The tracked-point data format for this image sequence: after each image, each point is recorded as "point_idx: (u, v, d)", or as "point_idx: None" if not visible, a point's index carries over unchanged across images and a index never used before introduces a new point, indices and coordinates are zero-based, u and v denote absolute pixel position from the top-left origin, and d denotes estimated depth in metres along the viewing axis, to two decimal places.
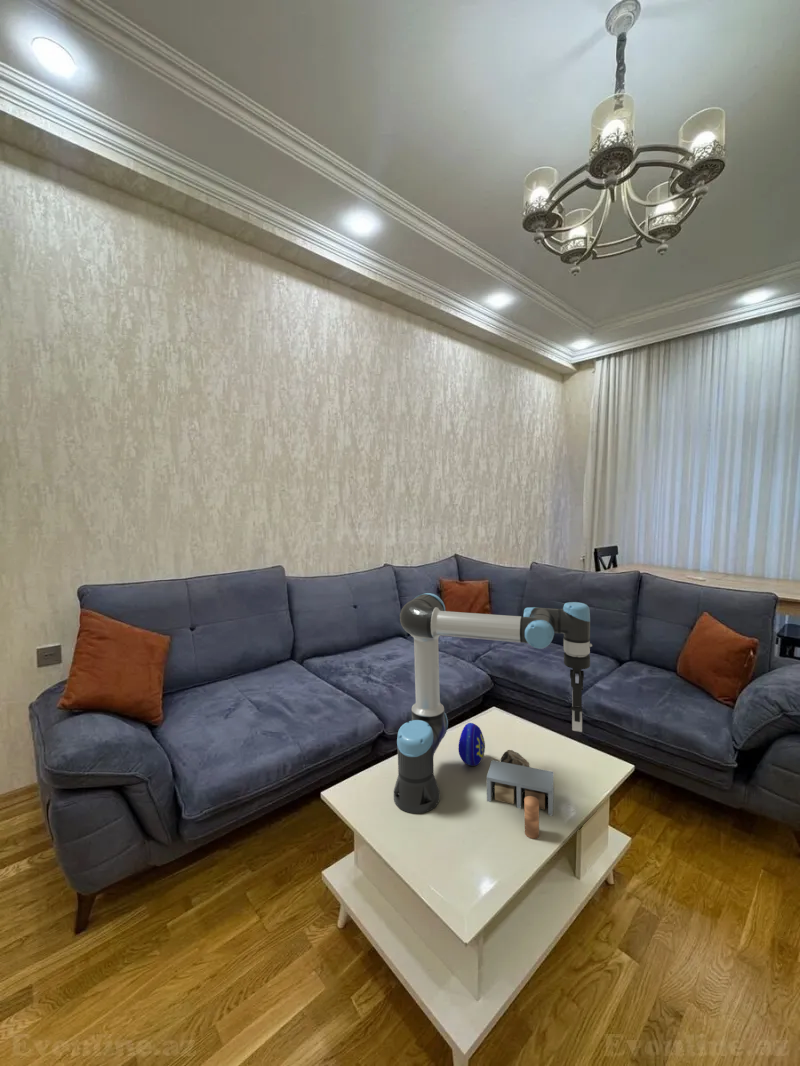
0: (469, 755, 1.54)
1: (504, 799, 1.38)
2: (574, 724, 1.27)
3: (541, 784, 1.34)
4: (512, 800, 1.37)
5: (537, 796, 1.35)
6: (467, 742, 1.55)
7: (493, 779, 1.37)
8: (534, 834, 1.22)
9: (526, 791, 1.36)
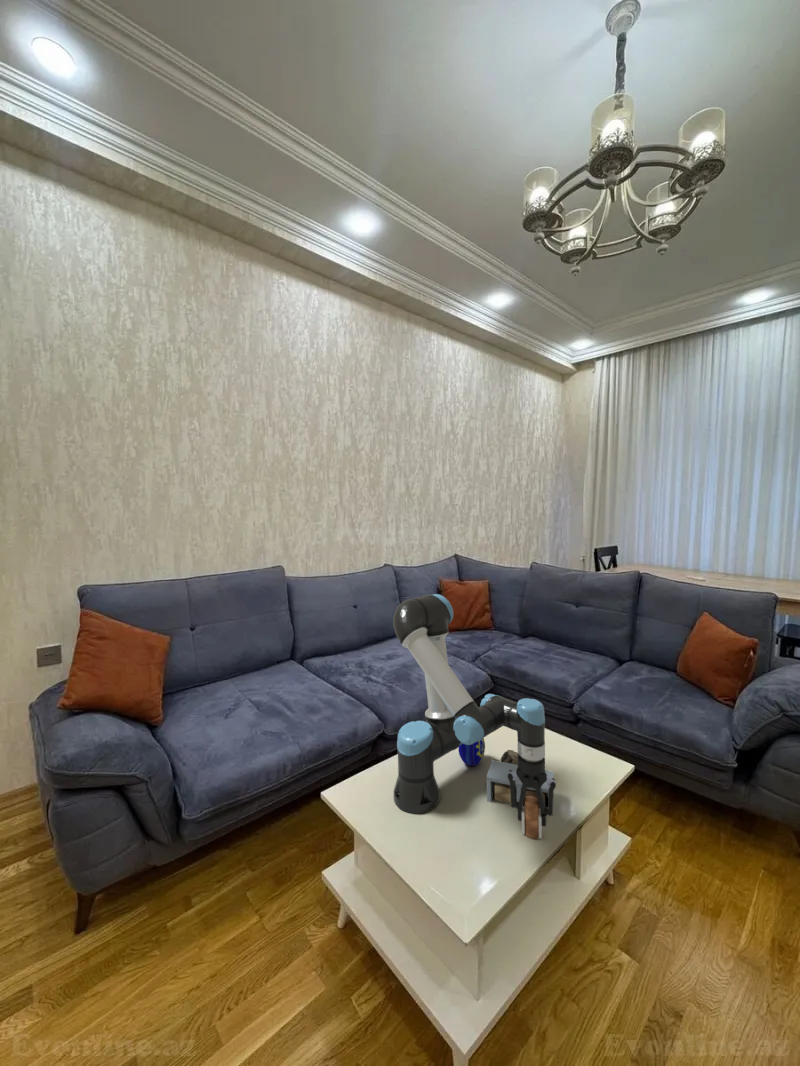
0: (469, 755, 1.54)
1: (504, 799, 1.38)
2: None
3: None
4: None
5: None
6: None
7: (493, 779, 1.37)
8: (534, 834, 1.22)
9: (526, 791, 1.36)
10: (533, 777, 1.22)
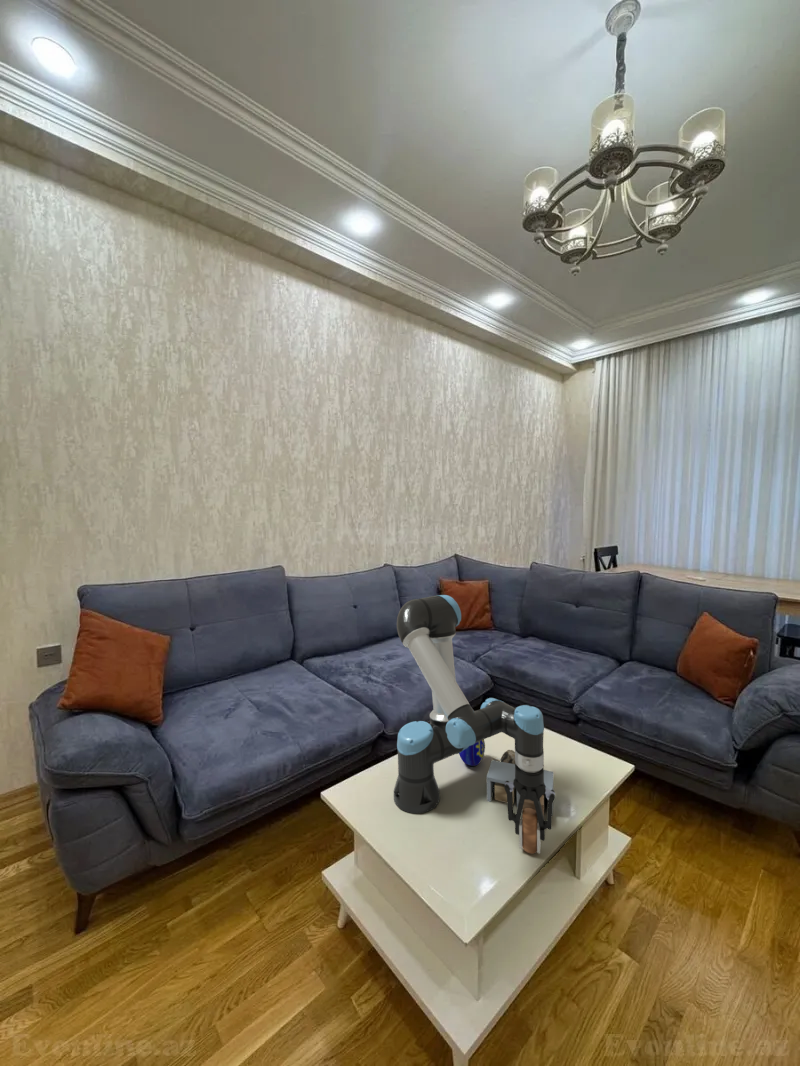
0: (469, 755, 1.54)
1: (504, 799, 1.38)
2: None
3: None
4: None
5: None
6: None
7: (493, 779, 1.37)
8: (532, 848, 1.16)
9: (524, 802, 1.30)
10: (531, 788, 1.16)
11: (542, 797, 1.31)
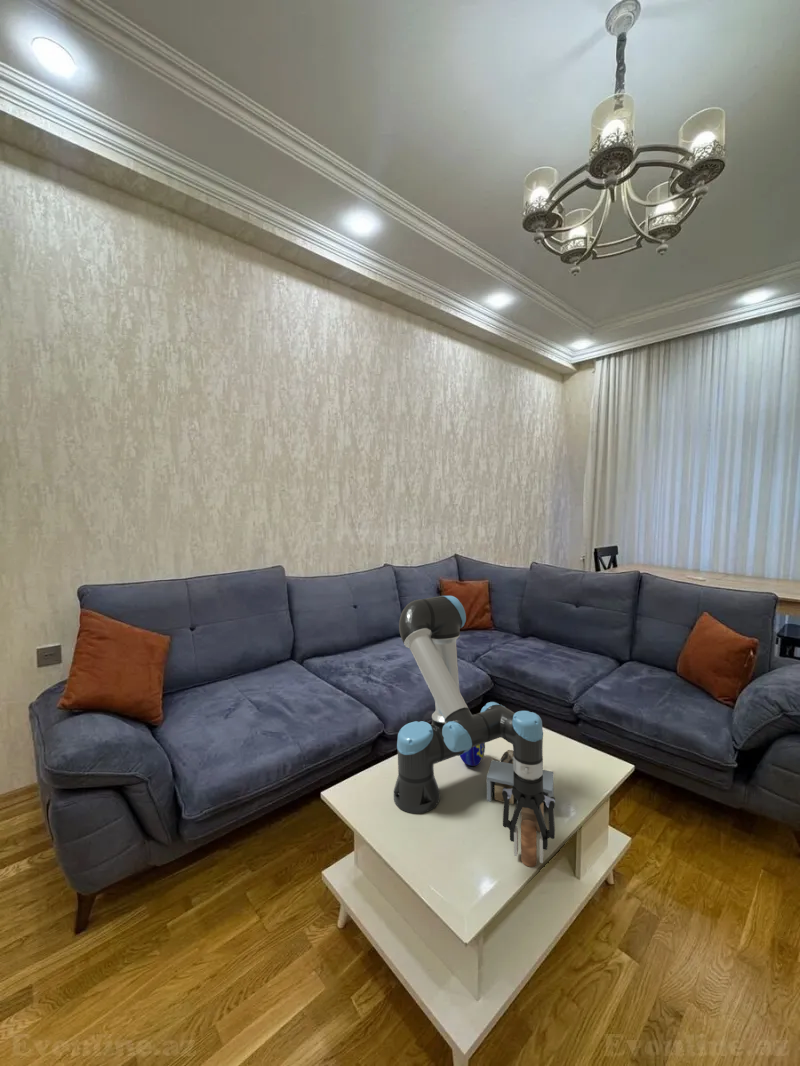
0: (469, 755, 1.54)
1: None
2: None
3: None
4: (512, 800, 1.37)
5: (535, 818, 1.25)
6: None
7: (493, 779, 1.37)
8: (531, 862, 1.13)
9: (523, 813, 1.26)
10: (530, 797, 1.13)
11: (542, 808, 1.28)
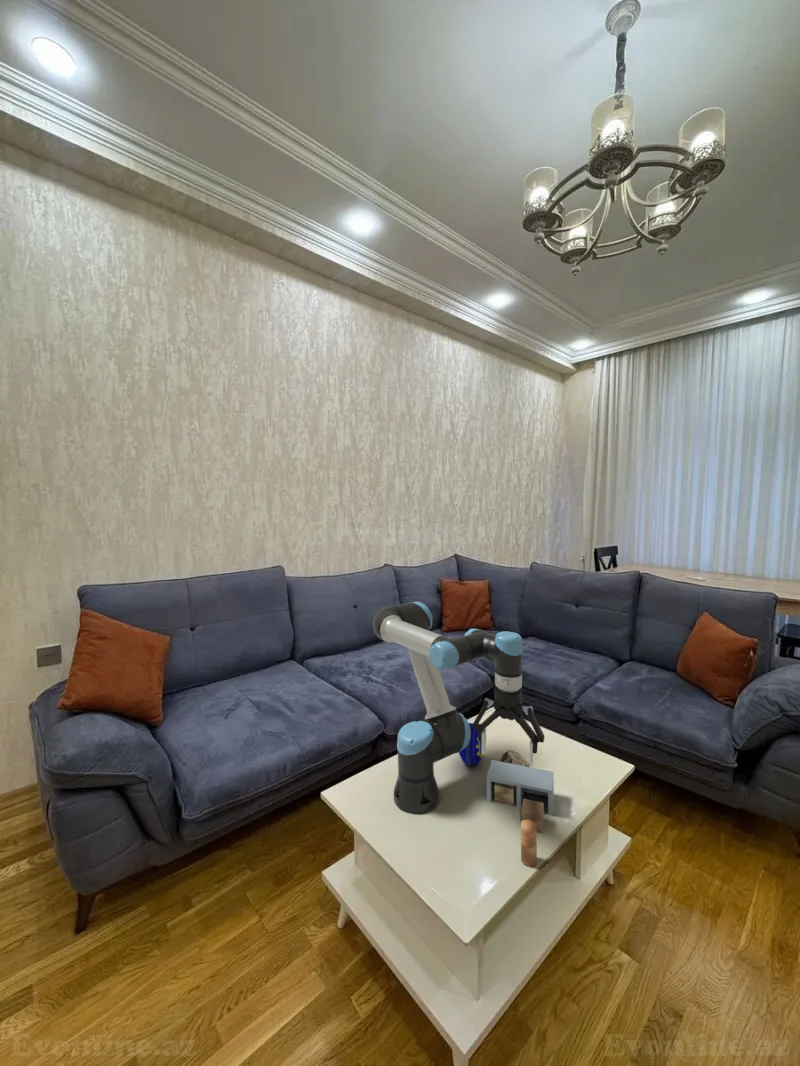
0: (469, 755, 1.54)
1: (504, 799, 1.38)
2: None
3: (541, 784, 1.34)
4: (512, 800, 1.37)
5: (535, 818, 1.25)
6: None
7: (493, 779, 1.37)
8: (531, 862, 1.13)
9: (523, 812, 1.26)
10: (508, 709, 1.22)
11: (542, 808, 1.28)
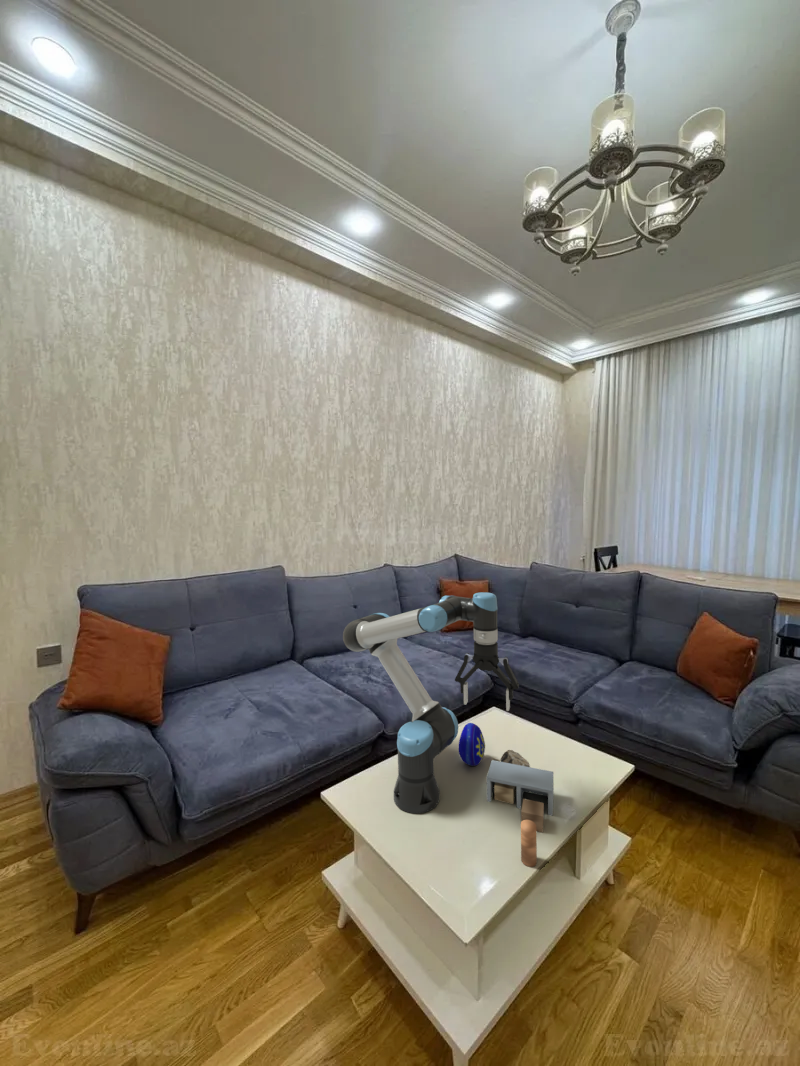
0: (469, 755, 1.54)
1: (504, 799, 1.38)
2: None
3: (541, 784, 1.34)
4: (512, 800, 1.37)
5: (535, 818, 1.25)
6: (467, 742, 1.55)
7: (493, 779, 1.37)
8: (531, 862, 1.13)
9: (523, 812, 1.26)
10: (486, 661, 1.37)
11: (542, 808, 1.28)
